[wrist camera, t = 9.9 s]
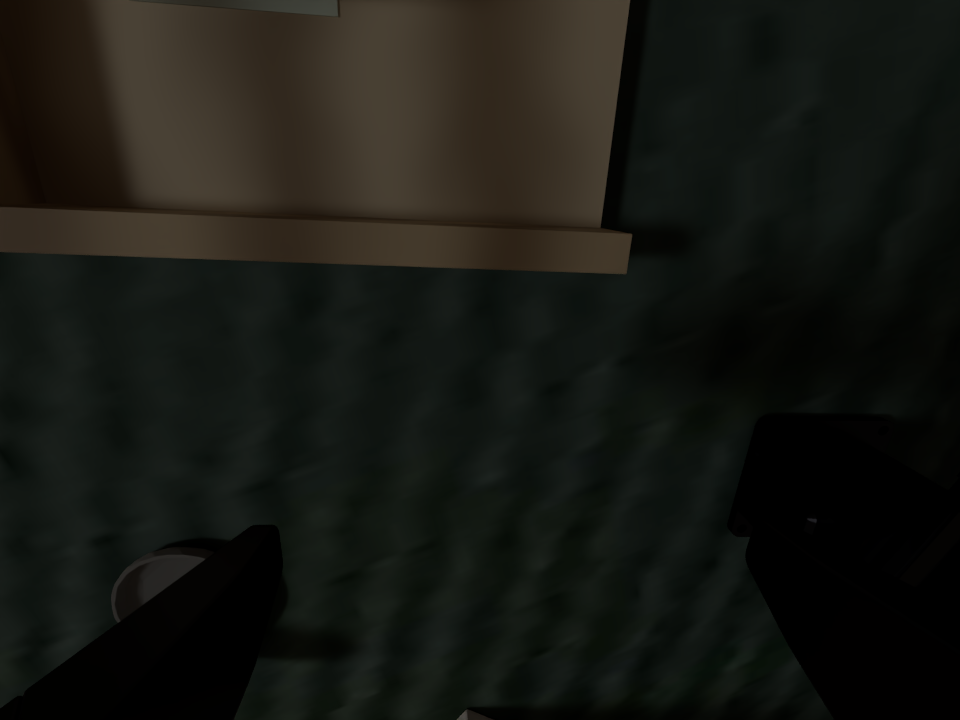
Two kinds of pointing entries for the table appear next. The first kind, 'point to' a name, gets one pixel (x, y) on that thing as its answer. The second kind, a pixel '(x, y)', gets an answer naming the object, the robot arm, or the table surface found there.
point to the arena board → (313, 131)
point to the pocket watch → (152, 577)
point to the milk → (472, 716)
